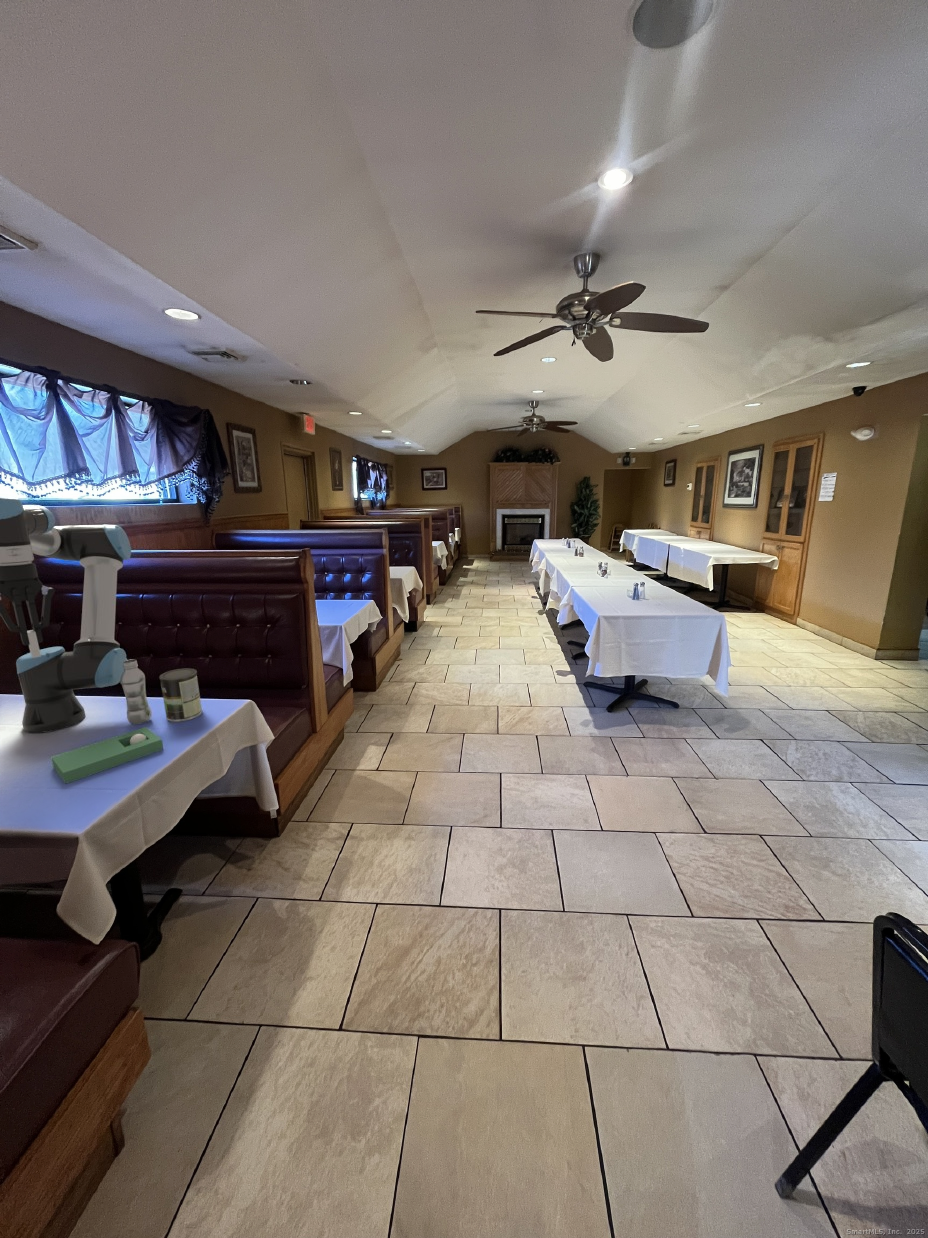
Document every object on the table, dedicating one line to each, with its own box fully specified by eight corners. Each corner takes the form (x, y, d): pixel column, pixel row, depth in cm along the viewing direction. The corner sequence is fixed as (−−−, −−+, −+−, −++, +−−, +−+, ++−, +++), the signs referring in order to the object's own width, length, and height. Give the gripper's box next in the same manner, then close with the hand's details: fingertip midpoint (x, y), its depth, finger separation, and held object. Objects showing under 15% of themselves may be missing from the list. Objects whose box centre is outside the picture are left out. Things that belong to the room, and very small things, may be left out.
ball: (128, 748, 138) (126, 734, 137) (144, 743, 141) (142, 730, 141) (134, 752, 136) (132, 739, 135) (150, 747, 139) (148, 734, 138)
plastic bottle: (127, 729, 150) (115, 666, 145) (129, 720, 156) (117, 660, 151) (152, 724, 153) (141, 662, 148) (153, 715, 159) (142, 656, 154)
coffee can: (165, 724, 153) (158, 682, 149) (166, 712, 162) (159, 671, 158) (203, 717, 158) (197, 675, 154) (202, 705, 166) (196, 666, 163)
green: (53, 767, 129) (51, 757, 129) (147, 736, 146) (146, 726, 145) (65, 784, 122) (63, 773, 121) (163, 749, 138) (161, 739, 137)
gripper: (-20, 567, 112) (4, 666, 118) (52, 561, 122) (71, 652, 128) (-25, 564, 117) (-2, 659, 123) (45, 559, 127) (64, 647, 133)
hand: (36, 656), depth 125 cm, fingers closed
